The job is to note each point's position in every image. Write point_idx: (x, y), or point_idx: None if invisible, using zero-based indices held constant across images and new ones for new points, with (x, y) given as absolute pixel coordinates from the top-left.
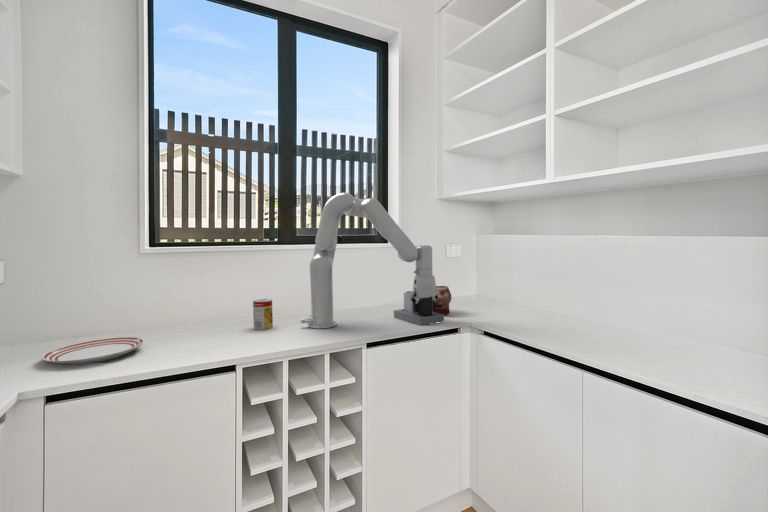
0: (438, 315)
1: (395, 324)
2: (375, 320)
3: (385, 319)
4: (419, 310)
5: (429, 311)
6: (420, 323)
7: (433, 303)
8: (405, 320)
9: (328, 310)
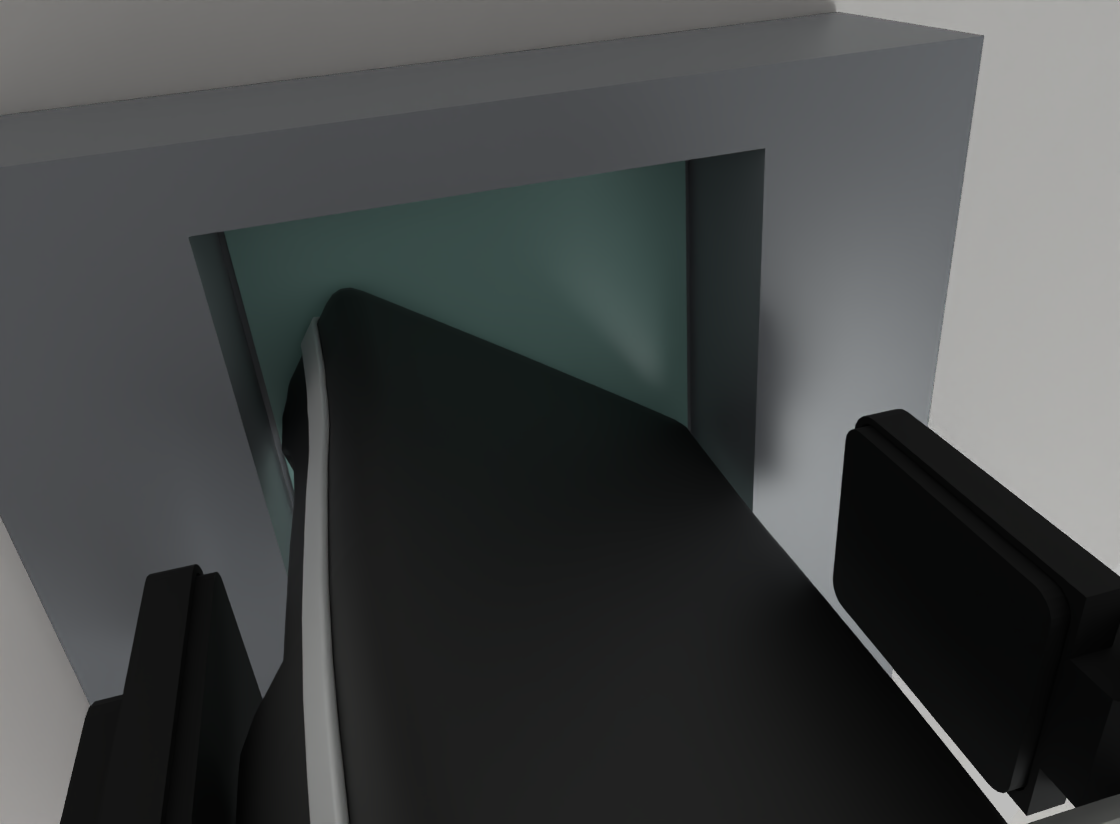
0: (167, 143)
1: (1105, 389)
2: None
3: None
4: (770, 549)
5: (465, 427)
6: (866, 19)
7: (191, 784)
8: None
9: None
